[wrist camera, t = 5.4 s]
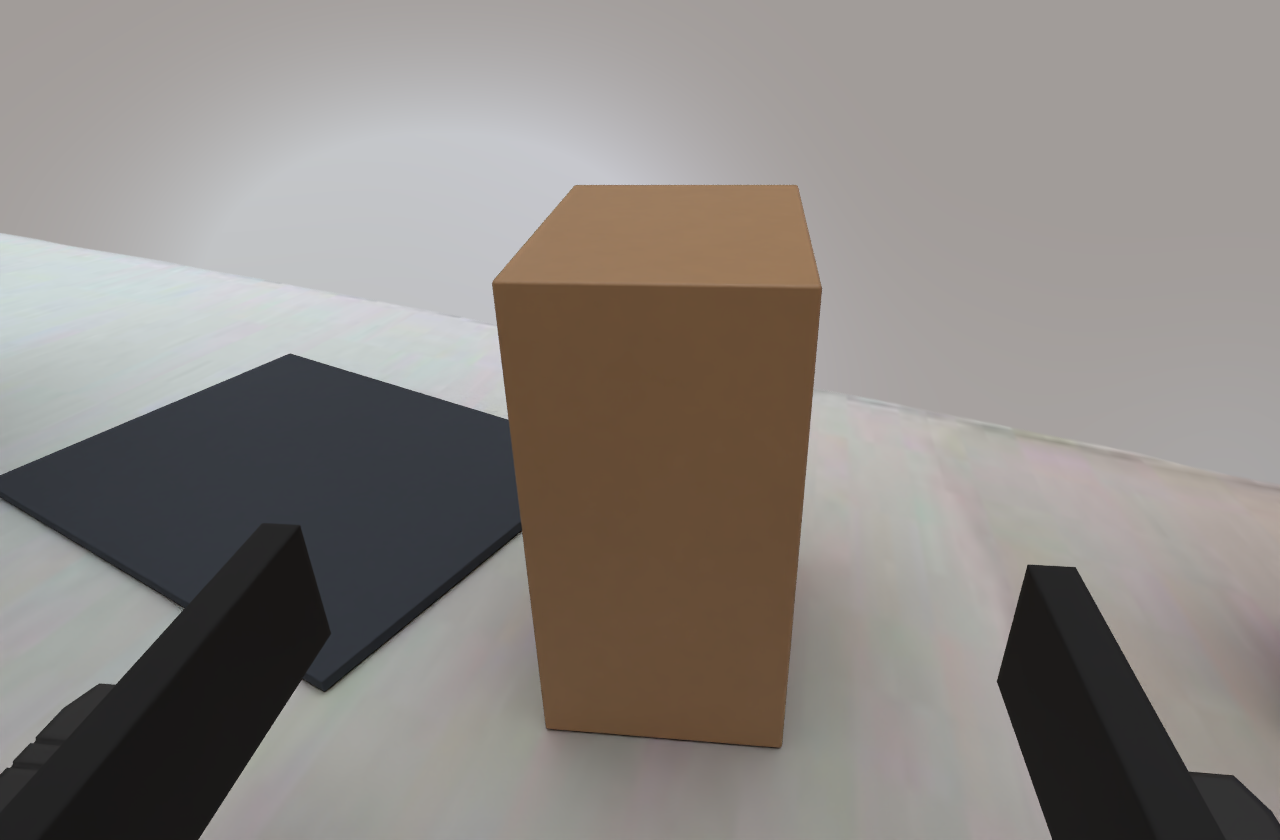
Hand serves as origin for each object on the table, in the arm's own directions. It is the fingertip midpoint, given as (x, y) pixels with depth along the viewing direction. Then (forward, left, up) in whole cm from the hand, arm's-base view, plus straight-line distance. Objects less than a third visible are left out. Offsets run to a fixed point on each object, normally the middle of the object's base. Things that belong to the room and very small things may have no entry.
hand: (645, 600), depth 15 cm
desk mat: (-20, +6, -7) cm, 22 cm away
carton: (-3, +6, -7) cm, 9 cm away
